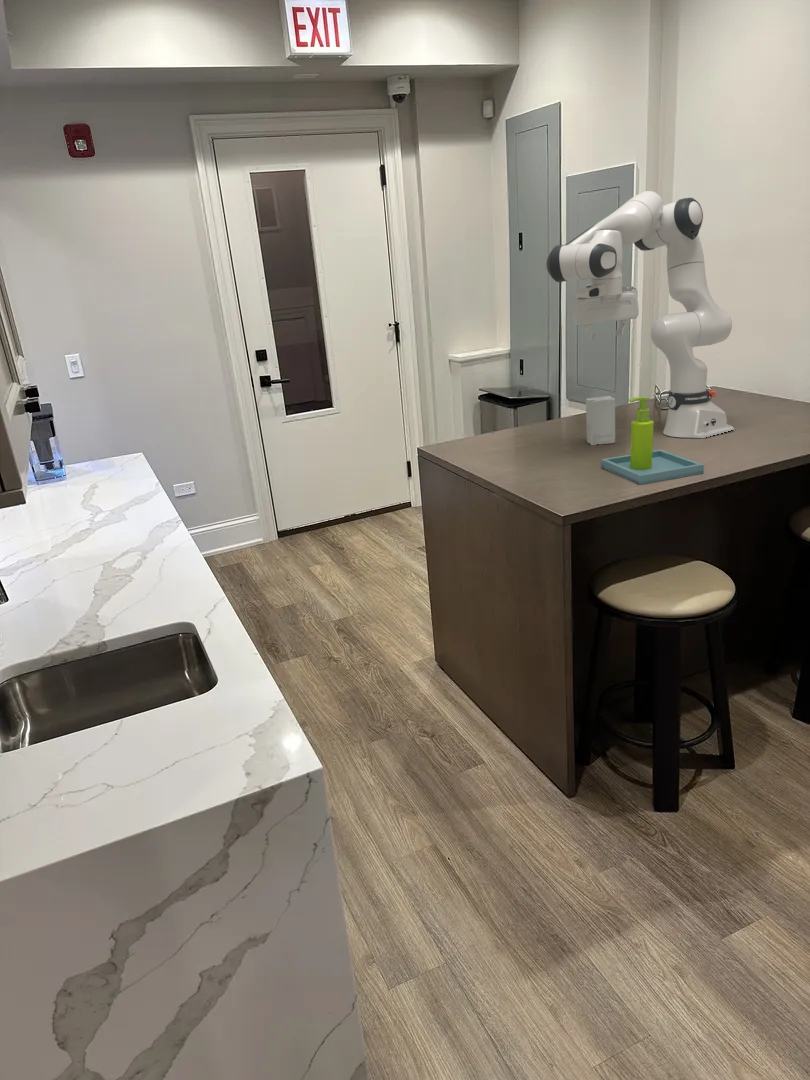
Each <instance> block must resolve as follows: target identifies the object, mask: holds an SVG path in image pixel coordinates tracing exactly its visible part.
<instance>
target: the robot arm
mask: <svg viewBox="0 0 810 1080" xmlns="http://www.w3.org/2000/svg"><path fill="white" fill-rule="evenodd" d="M703 219H704V213H703V209H702V206H701V204H700V202H699V201H697V200H696V199H695V198H693V197H684V198H681V199H678V200H677V201H674V202H670V203H667V204H664V200H663V199H662V197H661V196H660V194H658V193H657V192H655V191H652V190H646V191H643V192H640V193H638V194H635V195H634V196H632V197H631V198H630V199H628V200H627V201H626V202H625V203H623V204H622V205H621V206H620V207H619V208H618V209H616V210H615V211H613V212H612V213H611V214H609V215H608V216H606V217H604V218H603V219H601V220H600V221H599V222H597V223H596V224H593V225H592V226H590V227H589V228H587V229H585V230H584V231H583V232H581V233H580V234H578V235H577V236H576V237H574V238H573V239H571V240H570V241H568V242H567V243H565V244H557V245H555V246H554V247H553V248H552V249H551V250H550V252H549V254H548V256H547V259H546V270H547V273H548V274H549V276H550V277H551V279H552V280H554V281H555V282H557V283H563V282H568V281H585V280H586V281H587V280H590V283H589V284H587V285H584V286H583V287H580V288H578V289H576V290H575V292H574V293H575V294H574V295H575V298H576V299H575V300H574V303H573V308H572V309H573V310H572V321H573V323H574V325H577V326H583V325H584V326H583V327H584V330H585V331H586V333H587V339H588V340H590V341H591V340H595V339H596V333H595V332H593V330H592V328H593V324H599V323H600V324H601V323H609V322H618V323H619V324H620V325H619V327H618V329H615V336H616V337H622V336H624V330H625V328H626V326H627V325H628V320H634V319H637V318H638V317H639V313H640V311H639V300H638V296H639V293H638V292H639V291H638V289H637V288H636V287H634V286H623V273H622V265H623V263H624V262H623V260H624V259H623V257H624V255H623V254H624V249H623V248H624V247H625V246H629V245H634V246H635V247H636V248H637V249H639V250H640V251H641V252H642V251H652V250H655V249H656V248H657V249H658V248H661V247H664V246H666V269H667V270H666V271H667V283H668V292H669V296H670V297H671V298H672V299H673V300H674V301H676V302H679V303H680V304H682V306H683V307H684V308H685V310H686V311H685V312H675V313H670V314H666V315H663V316H661V317H658V318H656V319H655V320H654V321H653V324H652V326H651V329H650V338H651V341H652V344H653V345H654V346H655V347H657V348H658V349H659V350H660V351H661V352H662V353H663V354H664V356H665V358H666V359H667V361H668V364H669V365H668V366H669V370H670V371H669V373H670V375H669V377H670V380H669V383H670V384H669V385H670V386H669V391H668V395H667V396H668V398H667V402H668V411H667V412H668V413H667V417H666V422H665V425H664V429H663V431H662V433H663V434H664V435H665V436H668V437H674V438H694V439H706V437H707V438H710V436H711V437H714V436H713V435H715V436H718V435H717V434H719V435H722V434H721V433H723V434H725V433H724V432H727V433H729V432H728V431H731V430H734V431H735V428H734V426H732V425H731V424H728V422H727V421H728V420H727V415H726V412H725V411H724V410H723V409H722V408H721V407H719V406H718V405H717V404H715V403H714V402H712V401H711V398H715V397H717V395H718V392H717V391H716V390H708V389H707V381H708V380H707V379H708V367H707V364H706V363H705V361H702V360H701V359H699V358H697V357H695V356H694V355H695V354H694V353H693V352H694V351H693V349H694V348H697V347H704V346H705V347H706V346H713V345H716V344H718V343H721V342H724V341H726V340H727V339H728V338H729V336H730V334H731V332H732V328H733V322H732V321H733V320H732V319H731V315H729V313H728V312H726V311H725V310H724V309H722V308H721V307H720V306H719V305H718V304H717V303H716V302H715V300H714V299H713V297H712V295H711V293H710V290H709V287H708V282H707V276H706V267H705V264H706V263H705V257H704V251H703V246H702V243H701V238H700V236H699V233H700V229H701V228H702V225H703ZM623 246H624V247H623ZM710 397H711V398H710ZM731 432H732V431H731Z"/></svg>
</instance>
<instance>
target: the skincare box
mask: <svg viewBox="0 0 810 1080" xmlns="http://www.w3.org/2000/svg"><path fill="white" fill-rule="evenodd" d="M585 407H586V408H585V412H586V417H585V418H586V419H585V422H586V441H587V443H588V444H589V443H590V444H591V445H590V444H589V445H590V446H596V445H597V444H599V445H605V444H607V445H608V444H615V443H616V399H615V398H614V397H613V396H612V395H604V396H598V397H589V398H585Z"/></svg>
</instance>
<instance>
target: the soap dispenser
mask: <svg viewBox="0 0 810 1080" xmlns="http://www.w3.org/2000/svg"><path fill="white" fill-rule="evenodd" d="M647 401H650V397H648V396H637V397H631V398H629V399H628V402H631V403H634V402H639V408H637V409H636V419H635V420H632V421H631V424H630V425H631V427H630V428H631V431H630V433H631V434H630V455H631V458H630V467H631V468H632V469H637V470H645V469H650V468H651V467H652V451H653V447H654V446H653V442H654V424H655V423H654V422H655V421H653V420H652V419H650V409H649V408H648V407H647Z"/></svg>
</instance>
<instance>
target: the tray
mask: <svg viewBox="0 0 810 1080" xmlns="http://www.w3.org/2000/svg"><path fill="white" fill-rule="evenodd" d="M630 458H631V454H626V455H620V456H619V455H618V456H615V457H614V456H613V457H607V458H603V459H600V468H601V467H602V468H601V469H603V468H604V469H603V470H605V469H606V470H605V471H607V470H608V472H610V473H612V474H614V473H615V474H614V475H616V474H617V476H619V477H622V478H624V479H626V480H628V481H629V482H630V481H631V482H632V481H633V483H635V484H637V485H646V484H651V483H658V482H662V481H663V480H664V481H669V480H674V479H680V478H684V477H685V476H686V477H691V475H692V476H697V475H701V473H703V474H704V471H705V464H704V463H701V462H698V461H695V460H692V459H690V458H686V457H683V456H681V455H678V454H675V453H671V452H670V451H667V450H663V449H656V450H652V467H651V468H650V469H645V470H637V469H632V468H631V467H630ZM696 474H697V475H696ZM679 477H680V478H679ZM668 479H669V480H668Z"/></svg>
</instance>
